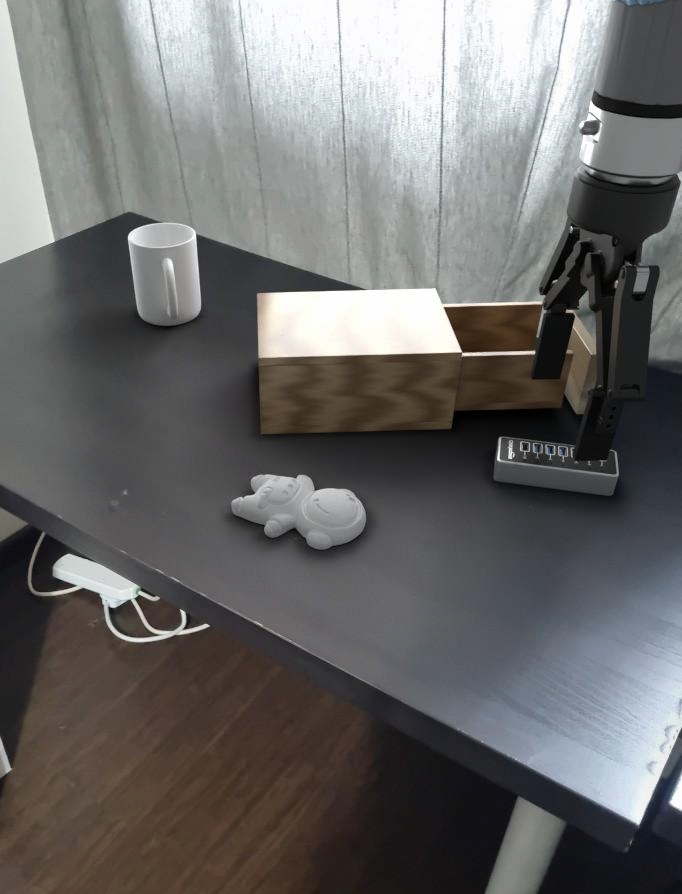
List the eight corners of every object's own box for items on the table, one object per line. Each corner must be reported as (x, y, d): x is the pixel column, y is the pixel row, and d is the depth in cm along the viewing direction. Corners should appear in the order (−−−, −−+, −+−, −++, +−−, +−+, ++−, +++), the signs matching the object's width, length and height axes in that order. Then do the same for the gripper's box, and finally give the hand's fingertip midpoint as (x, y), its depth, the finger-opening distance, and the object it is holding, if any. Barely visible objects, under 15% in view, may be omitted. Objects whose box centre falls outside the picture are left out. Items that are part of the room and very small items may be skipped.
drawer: (561, 351, 96) (574, 295, 92) (598, 413, 86) (615, 353, 81) (391, 355, 96) (396, 299, 91) (409, 419, 86) (415, 359, 81)
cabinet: (427, 359, 97) (435, 288, 91) (451, 429, 86) (462, 352, 80) (259, 364, 97) (256, 292, 91) (260, 434, 86) (258, 357, 80)
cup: (197, 296, 111) (191, 219, 105) (210, 336, 102) (204, 256, 96) (135, 302, 110) (125, 225, 103) (143, 343, 101) (132, 262, 94)
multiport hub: (613, 496, 77) (619, 476, 75) (492, 480, 79) (496, 461, 77) (610, 469, 80) (616, 449, 79) (495, 454, 82) (498, 435, 81)
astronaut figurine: (268, 471, 81) (267, 445, 79) (380, 509, 76) (383, 482, 74) (219, 521, 75) (217, 495, 73) (337, 565, 70) (338, 538, 68)
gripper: (534, 124, 70) (493, 350, 84) (640, 231, 52) (565, 500, 65) (621, 123, 71) (566, 349, 84) (758, 229, 52) (658, 498, 65)
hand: (565, 415), depth 75 cm, fingers open, 13 cm apart
